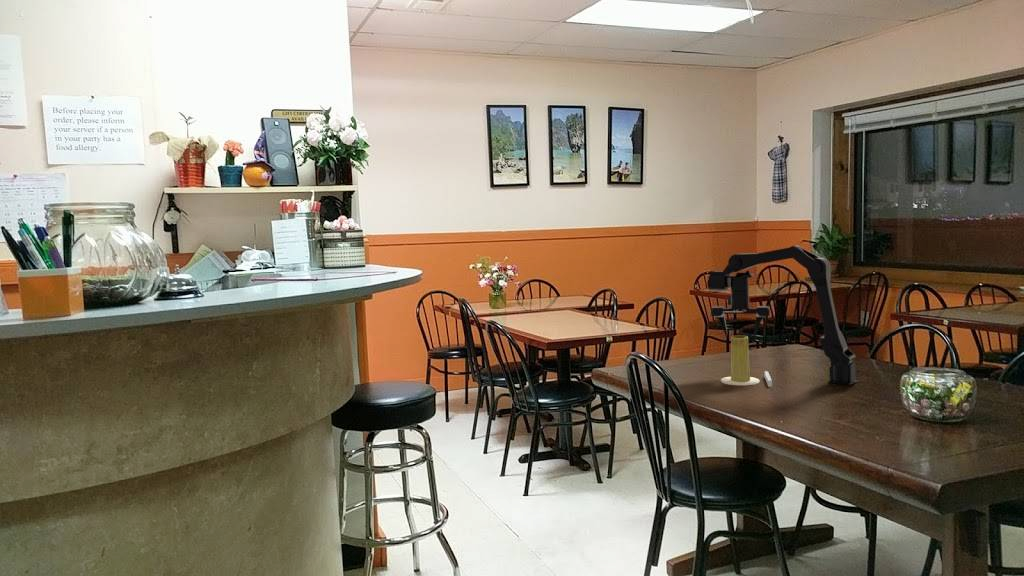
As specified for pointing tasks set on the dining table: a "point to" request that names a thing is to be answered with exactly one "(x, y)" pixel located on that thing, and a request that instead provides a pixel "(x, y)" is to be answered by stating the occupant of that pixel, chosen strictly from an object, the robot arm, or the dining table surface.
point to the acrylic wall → (768, 379)
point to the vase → (740, 359)
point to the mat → (752, 382)
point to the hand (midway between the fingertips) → (740, 336)
